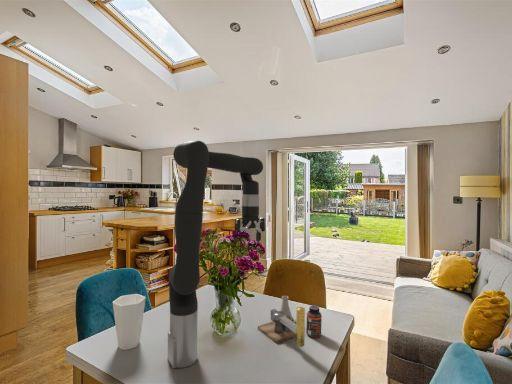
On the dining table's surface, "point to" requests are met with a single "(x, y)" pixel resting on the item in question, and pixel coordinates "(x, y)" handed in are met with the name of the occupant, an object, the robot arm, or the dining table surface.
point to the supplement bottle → (313, 322)
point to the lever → (292, 323)
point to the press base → (274, 335)
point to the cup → (128, 320)
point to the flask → (285, 306)
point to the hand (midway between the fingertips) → (250, 242)
